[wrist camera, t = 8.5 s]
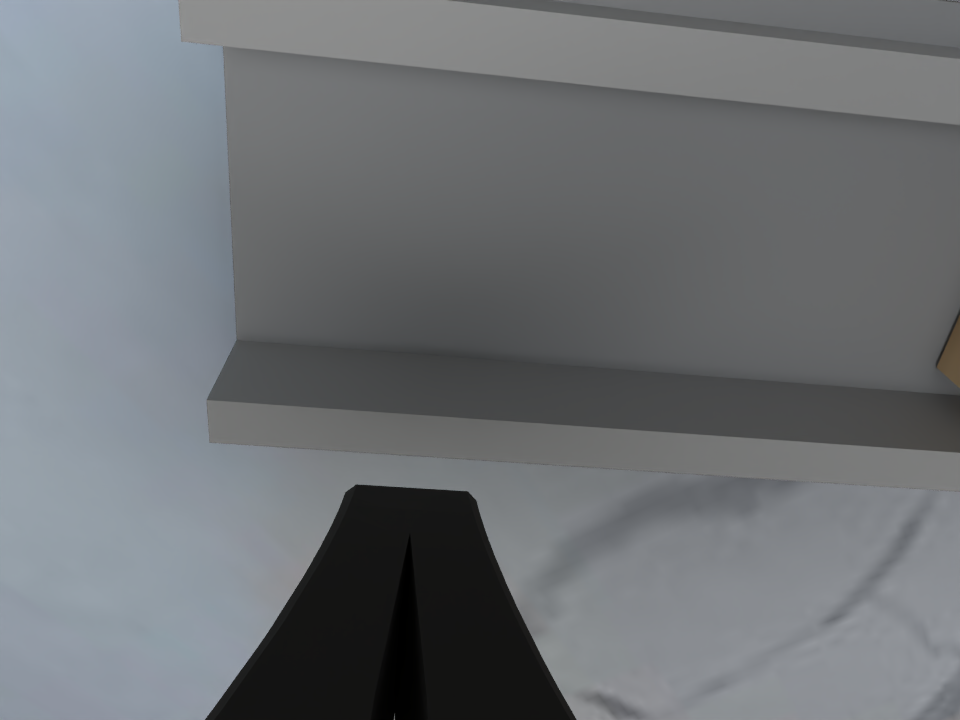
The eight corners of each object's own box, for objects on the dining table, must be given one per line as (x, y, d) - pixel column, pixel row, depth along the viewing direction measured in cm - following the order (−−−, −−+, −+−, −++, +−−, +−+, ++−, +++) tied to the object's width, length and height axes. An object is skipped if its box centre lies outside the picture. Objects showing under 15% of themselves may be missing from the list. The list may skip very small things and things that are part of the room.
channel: (231, -87, 14) (160, -90, 11) (1410, 56, 16) (1674, 93, 13) (249, 384, 19) (205, 488, 16) (1160, 450, 21) (1301, 554, 18)
